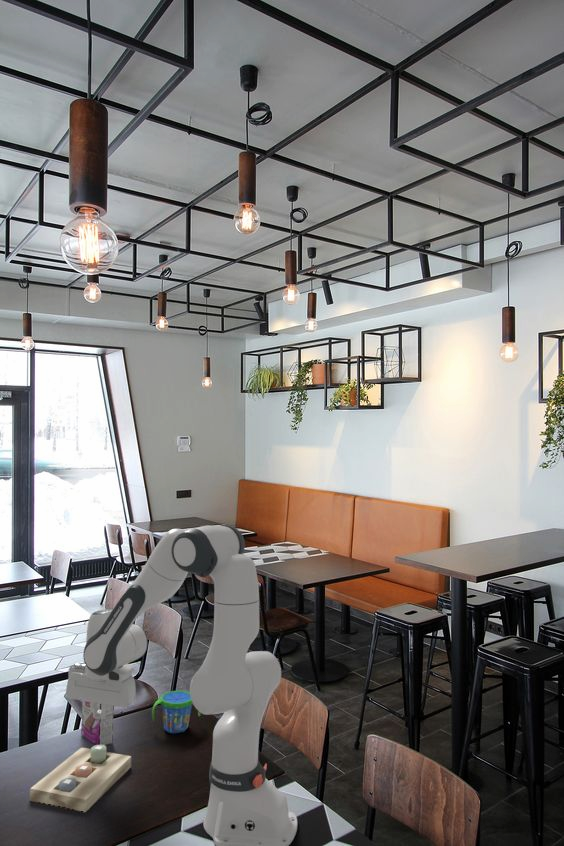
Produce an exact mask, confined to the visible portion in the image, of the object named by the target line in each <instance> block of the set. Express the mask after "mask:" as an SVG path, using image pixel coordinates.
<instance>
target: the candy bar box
mask: <svg viewBox="0 0 564 846" xmlns="http://www.w3.org/2000/svg"><path fill="white" fill-rule="evenodd" d="M81 701H82V700H81ZM81 703H82V704H81V728H80V729H81V731H80V733H81V734H80V736H81V737H83V738H85V739H86V740H87V741H89V742H90V743H92V744H93V745H94V746H95V745H105V746H106V747H107V746H108V745H111V744H113V742H114V741H113V740H114V718H115V717H114V715H115V714H114V713H115V712H114V711H115V710H114V709H115V706H112V705H110V706H109V707H108V709H107V710H106V716H105V718H104V719H98V718H93V711H92V709H91V707H90V702H88V701H82V702H81ZM97 706H98V708H99V710H102V709H103V707H101V706H102V704H100V703H97Z"/></svg>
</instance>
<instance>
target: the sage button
mask: <svg viewBox="0 0 564 846" xmlns="http://www.w3.org/2000/svg"><path fill="white" fill-rule="evenodd" d="M90 749H91V755H90V763H95V764H100V765H101V764H102V763H104V762H105V761H106V752H107V745H106V746H105V745H95V744H94V745H93V746H92V747H91V748H90Z"/></svg>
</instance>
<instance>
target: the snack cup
mask: <svg viewBox="0 0 564 846" xmlns="http://www.w3.org/2000/svg"><path fill="white" fill-rule="evenodd" d="M159 704H160V705H161V708H162V710H161V711H162V712H161V713H162V721H163V729H164V731H166V732H167V733H170V734H180V733H184V732H185V731H186V730H187V729H188V727H189V725H190V724H189V722H190V718H191V711H192V707H193V703H192V700H191V697H190V691H185V690H172V691H168V692H165V693H163V694H162V695H161V696H160V698H159V699H157V700H156V701H155V702H154V704H153V706H152V709H151V716H152V720H153V722H155V713H156V711H155V710H156V707H157V706H158V705H159ZM201 715H202V713H200V712H199V711H198V710H197V716H198V717H200V716H201Z"/></svg>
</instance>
